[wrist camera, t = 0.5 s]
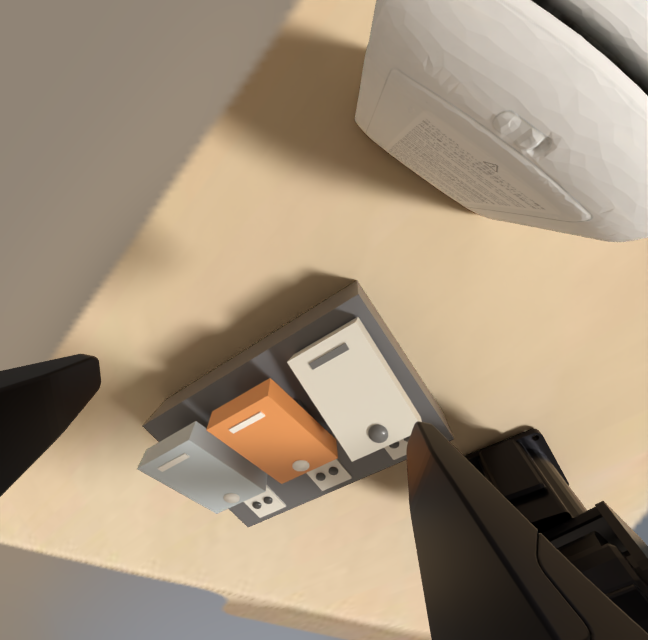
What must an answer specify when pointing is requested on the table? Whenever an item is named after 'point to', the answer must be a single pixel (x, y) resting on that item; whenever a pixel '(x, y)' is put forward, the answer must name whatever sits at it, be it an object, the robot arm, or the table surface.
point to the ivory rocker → (355, 390)
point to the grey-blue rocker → (203, 469)
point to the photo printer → (517, 107)
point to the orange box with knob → (273, 432)
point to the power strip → (300, 400)
